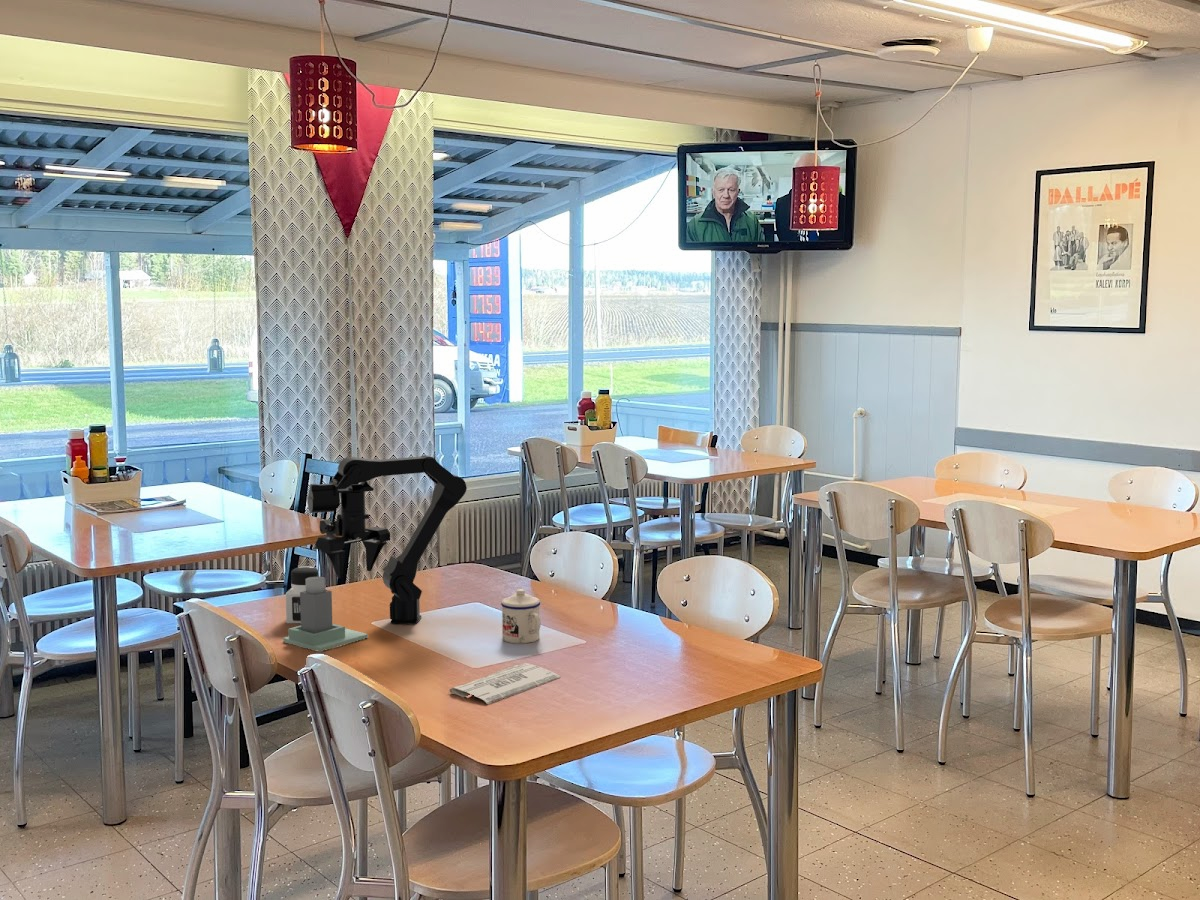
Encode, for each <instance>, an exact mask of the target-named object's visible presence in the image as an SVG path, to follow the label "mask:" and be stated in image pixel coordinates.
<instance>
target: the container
mask: <svg viewBox="0 0 1200 900" xmlns="http://www.w3.org/2000/svg"><path fill="white" fill-rule="evenodd" d="M309 577H319V570H318V569H317V568H316V567H313V566H298V567H295V568H293V569H292V570H291V572H290V582H291V583H290V584H291V588H290V589H288V590H287V592H286V593H285V618H286V620H285V621H286V624H301V609H300V592H303V591H306V578H309Z"/></svg>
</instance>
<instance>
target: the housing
mask: <svg viewBox="0 0 1200 900" xmlns="http://www.w3.org/2000/svg"><path fill="white" fill-rule="evenodd" d="M332 626H333V629H330V630H326V631H322V632H319V633H315V634H314V633H310V632H306V631H302V630H301V624H300V625H297V626H294V627H291V628H288V629H287V630H288V636H285V637H284V636H283V638H282V639H283V643H285V644H286V643H287V644H289V645H292V644H293V645H294V646H295V647H296V646H297V647H301V648H303V649H307V648H308V649H307V650H310V649H312V651H314V650H318V651H316V652H317V653H322V652H324V651H323V650H325V649H329V650H331V649H330V648H332V649H334V648H333V647H336V648H338V647H337V646H339V647H341V646H340V645H343V646H345V645H344V644H346V645H348V644H347V643H350V644H352V643H351V642H353V643H356V642H355V641H357V642H359V641H358V640H360V641H362V640H361V639H363V640H366V639H365V638H367V639H369V638H368V637H369V634H368V633H366V632H362V631H361V632H360V631H356V630H353V629H349V628H346V626H343V625H339V624H335V623H332ZM293 645H292V646H293Z"/></svg>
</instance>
